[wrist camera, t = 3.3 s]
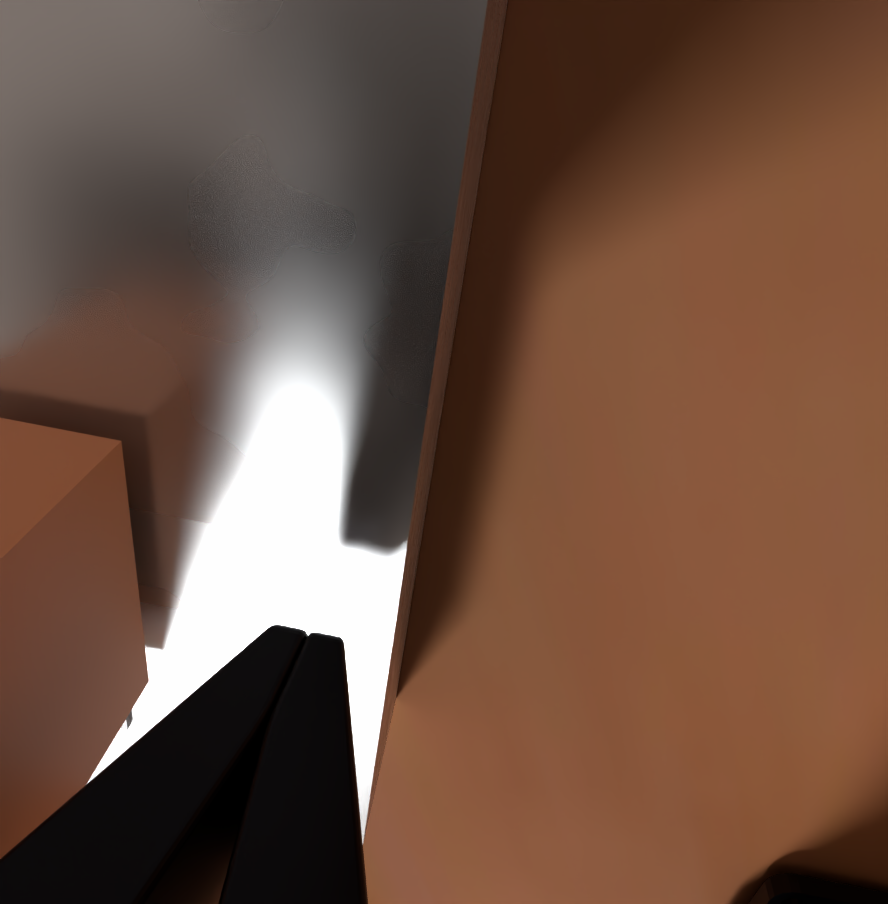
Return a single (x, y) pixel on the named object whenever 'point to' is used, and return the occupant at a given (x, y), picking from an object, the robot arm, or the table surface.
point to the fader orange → (62, 617)
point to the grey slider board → (247, 302)
